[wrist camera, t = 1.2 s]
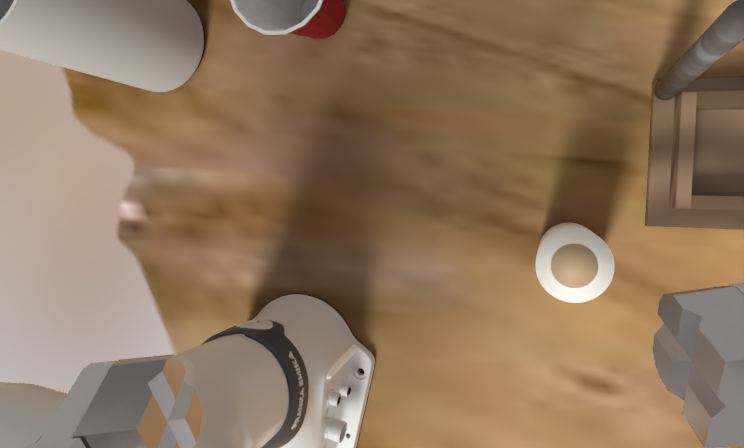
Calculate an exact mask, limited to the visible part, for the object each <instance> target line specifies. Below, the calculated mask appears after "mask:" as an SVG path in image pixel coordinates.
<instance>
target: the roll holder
mask: <svg viewBox="0 0 744 448" xmlns="http://www.w3.org/2000/svg"><path fill="white" fill-rule="evenodd" d="M742 40H744V0H738V1H735V2H734V3H732V4H731V5H729V6H728V7H727V9H726V10H725V11H724V12H723V13H722V14H721V15H720V16H719V17H718V18H717V19H716V20H715V21H714V23H713V24H712V25H711V26H710V27H709V28H708V29H707V30H706V31H705V32H704V33H703V34H702V36H701V37H700V38H699V39H698V40H697V41H696V42H695V43H694V44H693V45H692V46H691V47H690V49H689V50H688V51H687V52H686V53H685V54H684V55H683V56H682V57H681V58H680V59H679V60H678V61H677V63H676V64H675V65H674V66H673V67H672V68H671V69H670V70H669V71H668V72H667V73H666V74H665V76H664V77H663V78H662V79H661V80H654V81H653V82H652V101H651V120H650V139H649V158H648V178H647V197H646V216H645V225H646V226H664V227H691V228H717V229H744V77H716V78H698V77H699V76H700V75H701V74H702V73H704V72H705V71H706V70H707V69H708V68H710V67H711V66H712V65H713V64H714V63H716V62H717V61H718V60H719V59H721V58H722V57H723V56H724V55H725V54H727V53H728V52H729V51H730V50H731V49H733V48H734V47H735V46H736V45H737V44H739V43H740V42H741V41H742Z"/></svg>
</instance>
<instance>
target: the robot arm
mask: <svg viewBox="0 0 744 448" xmlns="http://www.w3.org/2000/svg"><path fill="white" fill-rule="evenodd" d="M658 315H659V316H660V317H661V319H662V320H663V322H664V323H665V324H664V325H663V326H662V327H661V328H660V329H659V330H658V331H657V332H656V333H655V334H654V344H653V353H654V359H655V364H656V368H657V370H658V373H659V375H660V378H661V379H662V381H663V383H664V384H665V386H666V388H667V389H668V391H670V392H672V393H673V394H675V395H677V396H678V397H680V398H682V399H683V400H684V405H683V410H682V414H683V415H684V417H685V418H686V420H687V421H688V423H689V425H690V426H691V428H692V429H693V431H694V433H695V434H696V436H697V437H698V439H699V440H700V442H701V444H702V445H703V447H704V448H714V447H727V446H740V445H744V283H739V284H732V285H728V286H721V287H713V288H706V289H698V290H690V291H683V292H675V293H667V294H664V295H663V296H662V298H661V300H660V302H659V308H658ZM374 365H375V359H374V356H373V355H372V353H371V352H370V351H369V350H368V349H367V348H366V347H364V346H363V345H362V344H361V343H359V342H358V341H357V340H356V339H355V337H354V336H353V334H352V333H351V331H350V329H349V327H348V326H347V324H346V323H345V321H344V320H343V318H342V317H341V316H340V315H339V314H338V313H337V312H336V311H335V310H334V309H333V308H332V307H331V306H329V305H328V304H326V303H325V302H323V301H321V300H319V299H317V298H314V297H311V296H307V295H301V294H293V295H286V296H282V297H280V298H277V299H275V300H273V301H272V302H270V303H269V304H267V305H266V306H265V307H264V308H263V309H262V310H261V311H260V312H259V314H258V315H257V316H256V317H255V318H254V319H253V320H250V321H246V322H242V323H239V324H237V325H236V326H233V327H231V328H229V329H226V330H224V331H222V332H220V333H218V334H216V335H214V336H212V337H210V338H209V339H207V340H206V341H205V342H204V343H203V344H202V345H200V346H197V347H195V348H192V349H190V350H188V351H185V352H183V353H180V354H178V355H164V356H154V357H144V358H133V359H123V360H119V361H110V362H99V363H91V364H90V365H88V366H86V367H85V368H83V370H82V372H81V373H80V375H79V376H78V378H77V380H76V382H75V383H74V385H73V386H72V388H71V389H70V391H69V393H68V394H67V393H63V392H60V391H56V390H53V389H49V388H46V387H43V386H39V385H35V384H26V383H5V382H4V383H3V382H0V448H356V447H357V442H358V438H359V433H360V429H361V424H362V420H363V415H364V411H365V406H366V402H367V397H368V393H369V388H370V384H371V379H372V375H373V370H374ZM359 368H362V369H363V370H364V374H362V373H360V371H359ZM349 434H350V435H349Z"/></svg>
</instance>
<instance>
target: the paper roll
mask: <svg viewBox="0 0 744 448" xmlns="http://www.w3.org/2000/svg"><path fill="white" fill-rule="evenodd" d="M535 268H536V274H537V277H538V279H539V281H540V283H541V285H542V286H543V287H544V289H545V290H546V291H547V292H548V293H549V294H551V295H552V296H554V297H555V298H557V299H560V300H562V301H566V302H571V303H580V302H586V301H589V300H592V299H594V298H596V297H598V296H599V295H601V294H602V293H603V292H604V291H605V290H606V289H607V287H608V286H609V284H610V283H611V281H612V278H613V275H614V269H615V267H614V258H613V255H612V252H611V250H610V248H609V247H608V245H607V244H606V243H605V242H604V241H603V240H602V239H601V238H600V237H599V236H597V235H596V234H594V233H593V232H592V231H590V230H589V229H588V228H586V227H584V226H582V225H580V224H577V223H561V224H558V225H555V226H553V227H551V228H550V229H549V230H548V231H547V232H546V233H545V234H544V235H543V237H542V238H541V241H540V243H539V247H538V252H537V256H536V262H535Z"/></svg>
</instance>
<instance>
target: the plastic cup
mask: <svg viewBox="0 0 744 448" xmlns="http://www.w3.org/2000/svg"><path fill="white" fill-rule="evenodd" d="M231 3H232V6H233V9H234V11H235V12H236V14H237V15H238V16H239V17H240V18H241V19H242V21H243V22H244V23H245V24H246V25H247V26H248V27H250V28H252V29H254V30H257V31H259V32H261V33H263V34H265V35H267V34H288V33H292V34H296V35H300V36H307V37H310V38H327V37H329V36H331V35H333V34H334V33H335V32H336V31H337V30H338V29H339V28H340V27H341V25H342V22H343V20H344V16H345V5H344V2H343V0H231Z"/></svg>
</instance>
